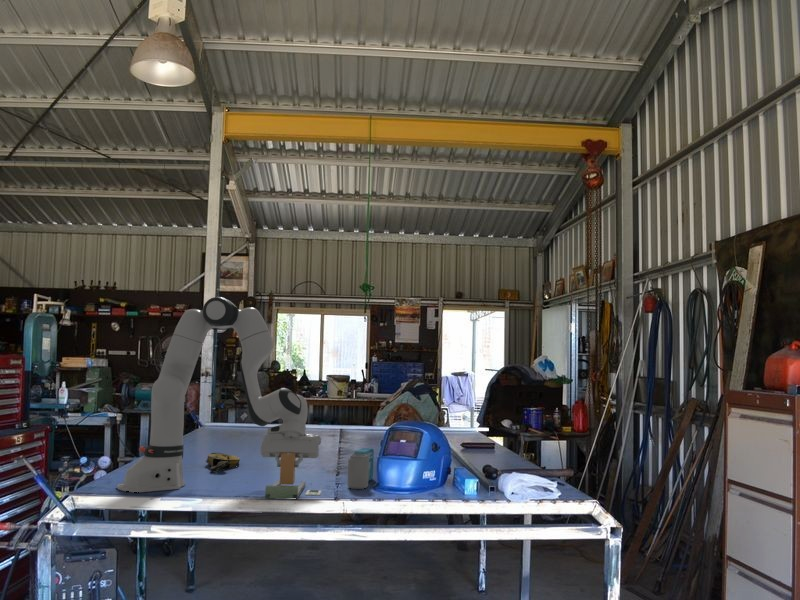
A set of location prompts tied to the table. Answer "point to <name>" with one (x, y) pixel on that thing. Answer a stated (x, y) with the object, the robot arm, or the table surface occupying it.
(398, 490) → the table surface
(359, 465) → the can
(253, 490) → the table surface
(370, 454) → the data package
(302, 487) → the switch channel
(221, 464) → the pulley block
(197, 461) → the table surface
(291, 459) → the orange brown box
